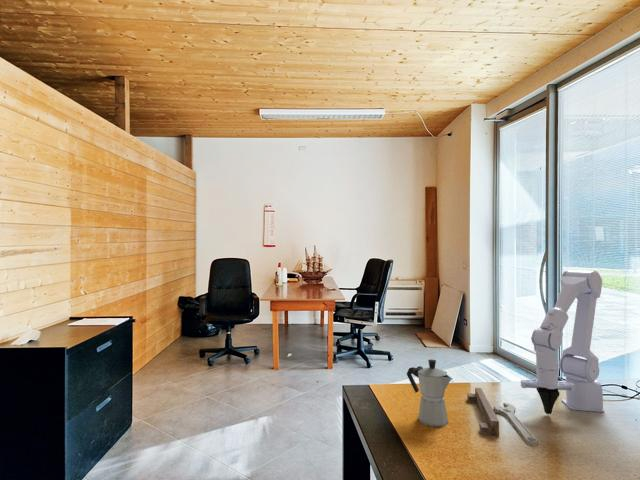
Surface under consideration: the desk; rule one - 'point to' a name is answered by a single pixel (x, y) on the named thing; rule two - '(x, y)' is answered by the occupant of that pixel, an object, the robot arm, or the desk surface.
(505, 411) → the adjustable wrench
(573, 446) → the desk surface
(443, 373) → the coffee maker
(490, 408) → the walnut bar
